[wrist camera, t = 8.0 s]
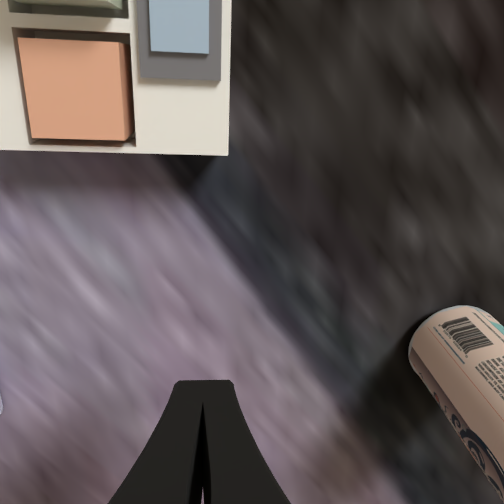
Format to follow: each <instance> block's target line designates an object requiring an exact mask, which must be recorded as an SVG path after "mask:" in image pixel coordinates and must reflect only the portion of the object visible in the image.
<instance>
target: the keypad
mask: <svg viewBox="0 0 504 504" xmlns="http://www.w3.org/2000/svg"><path fill="white" fill-rule="evenodd" d="M122 8H123V10H116V9H98V8H80V7H62V6H44V5H26V4H23V3H20V2H17V1H13V0H0V150H28V151H67V152H106V153H144V154H183V155H222V156H228V135H229V88H230V41H231V0H122ZM17 37H18V38H39V39H59V40H80V41H101V42H119V43H124V44H129V45H131V62H132V79H133V97H134V114H135V132H134V133H132V134H131V135H130V136H129V137H128V138H127V139H126V140H125V141H122V140H87V139H52V138H32V135H31V128H30V121H29V114H28V107H27V100H26V93H25V86H24V80H23V73H22V66H21V59H20V52H19V45H18V38H17Z"/></svg>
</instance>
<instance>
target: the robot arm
mask: <svg viewBox="0 0 504 504" xmlns="http://www.w3.org/2000/svg"><path fill="white" fill-rule="evenodd" d="M2 411H3V404H2V399H1V395H0V414H1V413H2ZM202 490H203V492H204V504H291V503H290V501H289V500H288V499H287V497H286V495H285V494H284V492H283V491H282V489H281V487H280V486H279V484H278V483H277V481H276V479H275V478H274V476H273V474H272V472H271V471H270V469H269V467H268V465H267V464H266V462H265V460H264V458H263V456H262V454H261V452H260V451H259V449H258V447H257V444H256V442H255V440H254V438H253V436H252V434H251V432H250V430H249V428H248V426H247V423H246V421H245V419H244V416H243V414H242V411H241V409H240V406H239V403H238V400H237V397H236V393H235V390H234V384H233V383H232V382H231V381H230V380H185V381H178V382H177V383H176V384H174V388H173V391H172V393H171V396H170V399H169V401H168V403H167V406H166V408H165V410H164V412H163V414H162V416H161V418H160V420H159V422H158V424H157V426H156V428H155V430H154V431H153V433H152V435H151V437H150V439H149V440H148V442H147V444H146V446H145V448H144V449H143V451H142V453H141V454H140V456H139V457H138V459H137V461H136V462H135V464H134V465H133V467H132V469H131V470H130V472H129V473H128V475H127V476H126V478H125V480H124V481H123V483H122V484H121V485H120V487H119V488H118V490H117V491H116V493H115V494H114V496H113V497H112V498H111V500H110V501H109V503H108V504H201V499H202Z"/></svg>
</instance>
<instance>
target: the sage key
mask: <svg viewBox="0 0 504 504" xmlns="http://www.w3.org/2000/svg"><path fill="white" fill-rule="evenodd" d="M13 1H17V2H20V3H23V4H26V5H44V6H62V7H80V8H98V9H116V10H123V8H122V0H13Z"/></svg>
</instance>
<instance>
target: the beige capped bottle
mask: <svg viewBox="0 0 504 504" xmlns="http://www.w3.org/2000/svg"><path fill="white" fill-rule="evenodd" d="M408 356H409V362H410V364H411V366H412V368H413V370H414V371H415V372H416V373H417V374H418V375H419V376H420V378H421V379H422V381H423V382H424V384H425V385H426V387H427V388H428V390H429V391H430V393H431V394H432V396H433V397H434V399H435V400H436V402H437V403H438V405H439V406H440V408H441V409H442V411H443V412H444V414H445V415H446V417H447V418H448V420H449V421H450V423H451V424H452V426H453V427H454V429H455V430H456V432H457V433H458V435H459V436H460V438H461V439H462V441H463V442H464V444H465V445H466V447H467V448H468V450H469V451H470V453H471V454H472V456H473V458H474V459H475V461H476V462H477V464H478V465H479V467H480V468H481V470H482V471H483V473H484V474H485V476H486V477H487V479H488V480H489V482H490V483H491V485H492V486H493V488H494V489H495V491H496V492H497V494H498V495H499V497H500V498H501V500H502V501H503V503H504V327H503V326H502V325H501V324H500V323H499V322H498V321H496V320H495V319H494V318H493V317H492V316H491V315H490V314H488V313H487V312H485V311H483V310H482V309H480V308H477V307H473V306H454V307H450V308H446V309H443V310H440V311H438V312H436V313H434V314H433V315H432V316H430V317H429V318H428V319H426V320H425V321H424V322H422V324H421V325H420V326H419V327H418V329H417V330H416V331H415V333H414V335H413V337H412V339H411V341H410V344H409V351H408Z"/></svg>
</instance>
